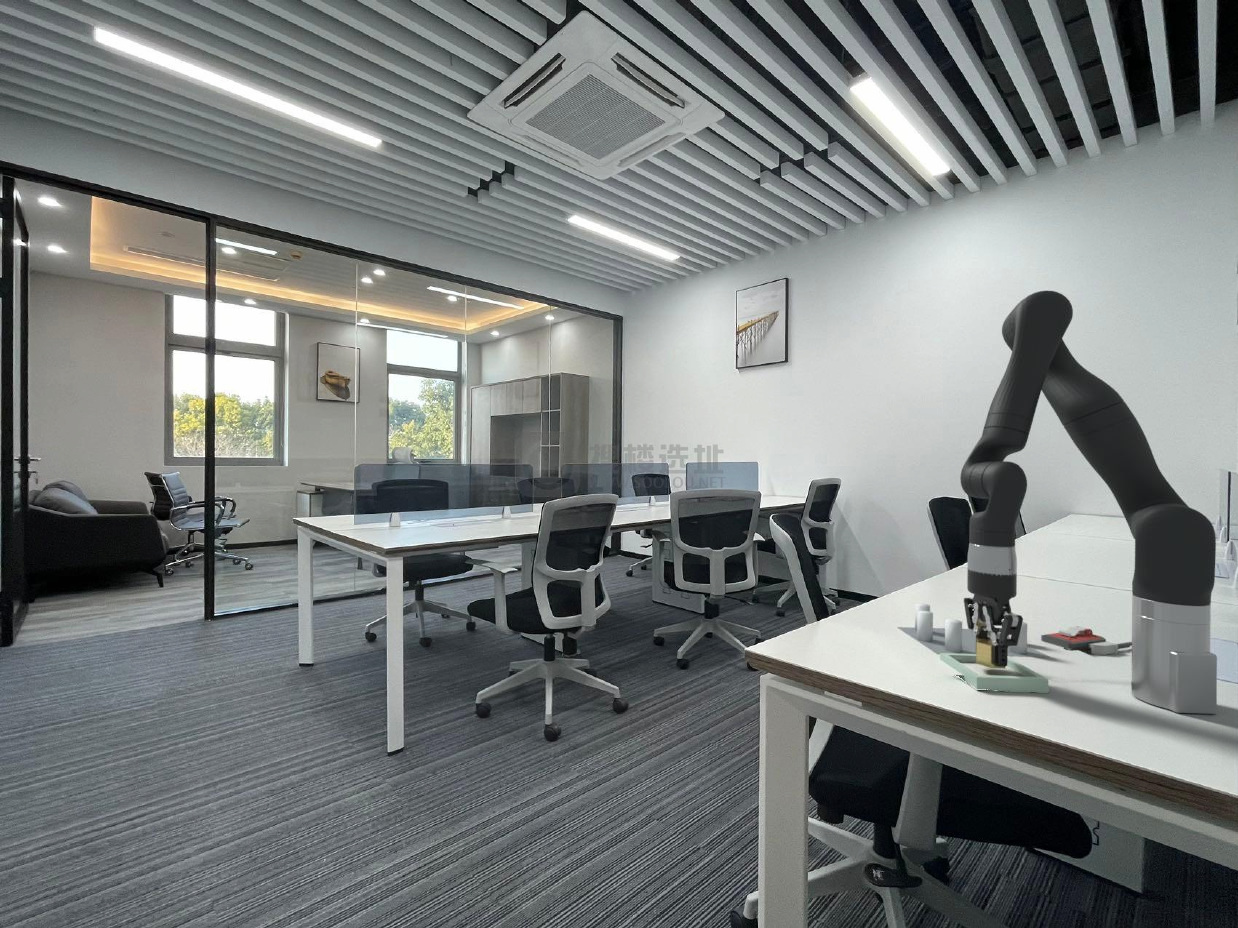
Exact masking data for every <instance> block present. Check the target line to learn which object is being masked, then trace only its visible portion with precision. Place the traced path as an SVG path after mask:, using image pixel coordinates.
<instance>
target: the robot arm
mask: <svg viewBox="0 0 1238 928" xmlns="http://www.w3.org/2000/svg"><path fill="white" fill-rule="evenodd" d="M1073 310H1074V309H1073V306H1072V303H1071V301H1070V300H1069V299H1068V297H1067V296H1065V295H1064V294H1063V293H1062V292H1061V293H1060V292H1058V291H1055V290H1040V291H1036V292H1033V293H1032V294H1029V295H1027V296H1026V297H1024V298H1023V299H1021V301H1019V303H1017V304H1016V305H1015V307H1014V308H1013V309H1012V310H1011V311H1010V313H1009V314H1008V315H1007V317H1006V318H1005V319H1004V321H1003V324H1002V327H1001V335H1002V338H1003V340H1004V342H1005V345H1007V347H1008V348H1009V349H1010V350H1011V355H1010V358H1009V360H1008V364H1007V367H1006V369H1005V372H1004V374H1003V376H1002V378H1001V381H1000V383H999V385H998V386H997V390H996V391H995V393H994V396H993V398H992V401H991V402H990V406H989V409H988V411H987V415H986V419H985V423H984V427H983V430H982V433H981V437H980V439H979V440H978V441H977V442H976V444H975V446H974V447H973V448H972V450H971V452H970V453H969V455H968V457H967V459H966V460H965V461H964V464H963V466H962V467H961V472H960V477H959V478H960V486H961V488H962V490H963V491H964V493H965V494H966V495H967V496H969V497H972V498H974V499H975V498H976V499H983V500H984V499H985V500H988V504H987V506H986V508H985V510H984V511H977V512H975V513H973V514H971V516H970V517H969V525H968V526H969V529H968V530H969V534H968V536H969V538H968V539H969V544H968V550H967V551H968V552H967V581H966V582H967V586H966V587H967V591H968V592H969V593H971V594H973V596H972V597H964V598H963V604H964V611H965V616H966V617H965V618H966V622H967V623H966V624H967V629H972V630H973V634H974V635H976V642H977V638H981V639H990V637H988V636H989V635H990V633H991V637H992V643H993V645H992V663H993V665H995V666H997V667H1006V668H1007V667H1008V666H1007V662H1008V658H1009V656H1008V646H1017V643H1018V639H1019V635H1020V631H1021V626H1022V622H1023V621H1024V618H1023V616H1022V615H1020V614H1017V615H1014V614H1015V613H1014V614H1013V612H1012V608H1011V604H1010V600H1011V599H1013V598H1015V597H1016V596H1017V592H1018V591H1017V589H1018V588H1017V582H1018V581H1017V579H1018V578H1017V577H1018V576H1017V574H1018V558H1017V552H1016V523H1017V522H1018V518H1019V514H1020V512H1021V509H1022V506H1023V503H1024V500H1025V498H1026V497H1025V496H1026V493H1027V490H1028V489H1027V488H1028V479H1027V476H1026V473H1025V471H1024V470H1023V468H1022V467H1021V466H1020V465H1019V464H1017V463H1015V462H1012V461H1006V460H1005V459H1006V458H1007V457H1008V456H1010V455H1012V454H1016V453H1019V452H1022V450H1024V449H1025V447H1026V445H1027V442H1028V439H1029V435H1030V432H1031V428H1032V425H1033V421H1034V417H1035V414H1036V410H1037V407H1038V402H1039V399H1040V396H1041V392H1042V393H1043V396H1044V397H1045V398H1046V400H1047V402H1048V403H1049V405H1050V407H1051V408H1052V410H1053V411H1054V413H1055V415H1056V416H1057V418H1058V419H1059V422H1060V423H1061V425H1062V426H1063V428H1064V429H1065V431H1066V432H1067V434H1068V437H1070V439H1071V440H1072V442H1073V443H1074V445H1075V446H1076V448H1077V449H1078V451H1080V453H1081V455H1082V456H1083V457H1084V458H1085V460H1086V461H1087V463H1088V464H1089V465H1090V466H1091V468H1093V470H1094V471H1095V472H1096V474H1098V476H1099V477H1100V478H1101V479H1102V481H1104V482H1105V484H1106V486H1107V487H1108V488H1109V490H1110V491H1111V493H1112V495H1113V497H1114V498H1115V500H1116V502H1117V505H1118V506H1119V508H1120V510H1121V513H1122V514H1123V516H1124V519H1125V520H1126V523H1127V525H1128V528H1129V530H1130V533H1131V535H1132V538H1133V539H1134V571H1133V578H1132V583H1131V586H1132V588H1131V589H1132V590H1131V592H1132V593H1131V597H1132V599H1131V604H1132V605H1131V610H1132V611H1131V642H1132V646H1131V694H1132V696H1133V697H1135V698H1137V699H1138V700H1140V701H1142V702H1145V703H1148V704H1151V705H1153V706H1156V707H1160V708H1164V709H1166V710H1171V711H1173V712H1174V713H1177V714H1178V713H1181V714H1184V713H1185V714H1205V715H1206V714H1207V715H1209V714H1210V715H1217V712H1218V711H1217V703H1218V702H1217V701H1218V699H1217V698H1218V697H1217V696H1218V695H1217V693H1218V692H1217V690H1218V686H1217V685H1218V657H1217V655H1216V653H1213V652H1211V620H1212V619H1211V617H1212V616H1211V614H1212V613H1211V612H1212V611H1211V609H1212V608H1211V605H1212V604H1211V603H1212V592H1213V590H1214V587H1215V581H1216V580H1215V577H1216V556H1217V555H1216V553H1217V552H1216V550H1217V549H1216V548H1217V538H1216V530H1215V528H1214V526H1213V523H1212V522H1211V521H1210V519H1209V518H1208V517H1207V516H1206V515H1204V514H1203V513H1201V511H1198V510H1197V509H1194V508H1192V507H1190V506H1189V505H1188V504H1187V503H1186V502H1185V500H1183V499H1182V498H1181V497H1180V495H1179V494H1178V493H1177V492H1176V490H1175V489H1174V488H1173V487H1172V485H1171V484H1170V483H1169V481H1167V479H1166V477H1165V476H1164V475H1163V473H1162V472H1161V470H1160V468H1159V465H1158V464H1157V462H1156V458H1155V457H1154V454H1153V450H1152V448H1151V446H1150V444H1149V441H1148V439H1147V437H1146V435H1145V432H1144V430H1143V429H1142V427H1141V425H1140V423H1139V421H1138V420H1137V417H1136V416H1135V415H1134V413H1133V412H1132V411H1131V409H1130V407H1129V406H1128V405H1127V403H1126V401H1125V400H1124V399H1123V397H1122V396H1121V395H1120V394H1119V392H1118V391H1117V390H1115V388H1113V387H1112V386H1111V385H1110V384H1108V383H1107V382H1105V380H1103V379H1101V378H1099V377H1098V376H1096V375H1095V374H1093V373H1092V372H1091V371H1089V370H1088V369H1086V368H1085V367H1083V366H1082V364H1080V363H1079V362H1078V360H1077V359H1076V358H1075V357H1074V355H1073V354H1072V352H1071V351H1070V350H1069V349H1070V348H1068V347H1067V344H1066V343H1065V341H1064V339H1063V338H1064V336H1065V333H1066V332H1067V329H1068V328H1069V326H1070V324H1071V322H1072V320H1073V318H1074V316H1073V315H1074V311H1073ZM1004 460H1005V461H1004ZM972 609H974V610H972ZM972 617H973V619H972ZM973 622H974V623H973ZM984 626H985V627H984ZM997 626H998V627H997ZM998 632H1000V637H999V639H998ZM1009 635H1011V639H1010V637H1009Z"/></svg>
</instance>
